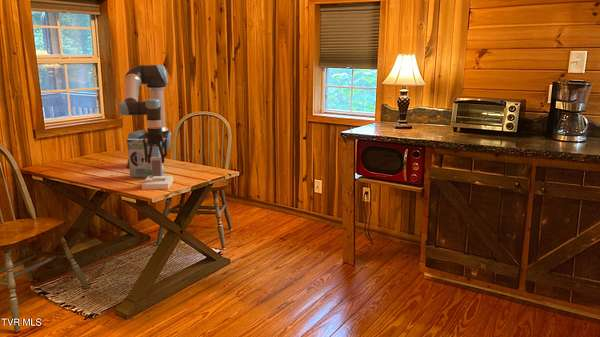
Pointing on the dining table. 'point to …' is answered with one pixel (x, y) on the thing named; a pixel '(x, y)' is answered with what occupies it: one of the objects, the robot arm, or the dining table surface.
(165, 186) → the socket
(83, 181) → the dining table surface
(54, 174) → the dining table surface
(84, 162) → the dining table surface
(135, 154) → the gum box
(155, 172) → the plug
